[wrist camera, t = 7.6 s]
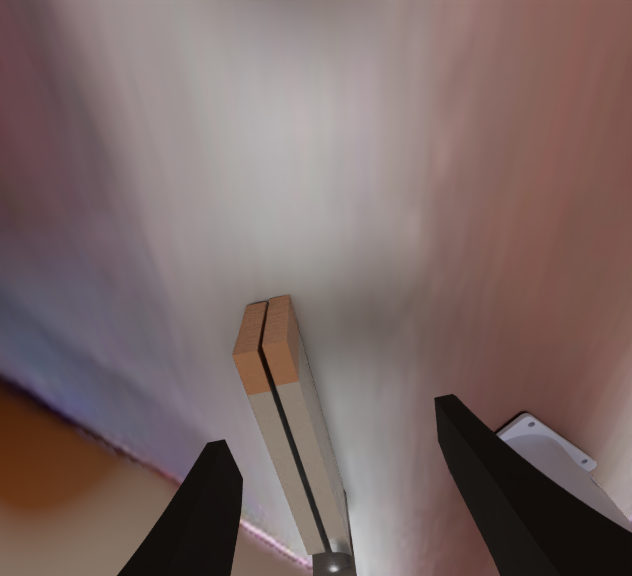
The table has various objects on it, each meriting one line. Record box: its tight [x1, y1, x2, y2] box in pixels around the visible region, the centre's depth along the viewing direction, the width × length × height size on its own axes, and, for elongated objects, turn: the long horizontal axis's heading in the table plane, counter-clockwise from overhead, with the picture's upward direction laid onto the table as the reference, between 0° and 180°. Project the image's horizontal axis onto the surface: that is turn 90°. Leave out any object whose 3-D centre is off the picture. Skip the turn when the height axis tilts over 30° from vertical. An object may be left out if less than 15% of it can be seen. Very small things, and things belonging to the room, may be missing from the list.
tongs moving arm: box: [232, 302, 325, 555], centre depth 22 cm, size 17×1×5 cm, turn 12°
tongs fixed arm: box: [262, 295, 357, 576], centre depth 23 cm, size 20×3×6 cm, turn 13°
